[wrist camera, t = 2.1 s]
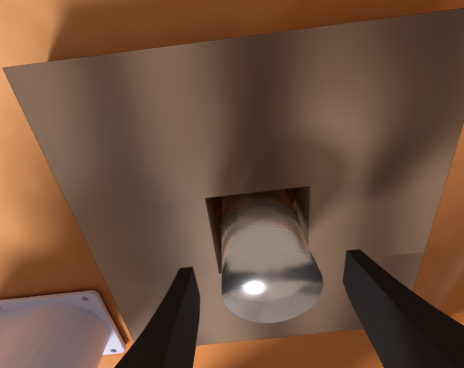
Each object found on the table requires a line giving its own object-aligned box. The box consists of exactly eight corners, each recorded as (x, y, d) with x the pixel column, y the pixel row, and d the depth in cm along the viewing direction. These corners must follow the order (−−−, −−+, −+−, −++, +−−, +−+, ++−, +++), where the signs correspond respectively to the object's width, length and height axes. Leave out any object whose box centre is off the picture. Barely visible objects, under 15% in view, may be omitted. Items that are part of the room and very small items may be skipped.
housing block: (148, 315, 23) (138, 351, 20) (45, 63, 13) (1, 67, 11) (380, 291, 22) (402, 324, 19) (442, 12, 13) (500, 3, 10)
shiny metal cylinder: (226, 235, 19) (228, 327, 13) (217, 180, 17) (214, 257, 11) (288, 228, 19) (321, 317, 13) (287, 171, 17) (326, 245, 10)
